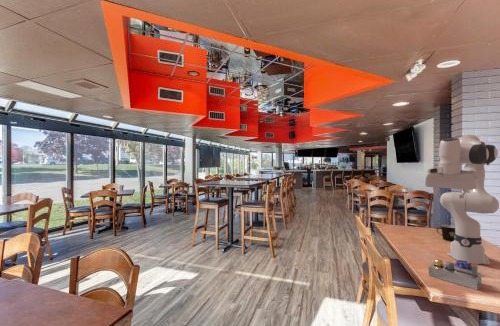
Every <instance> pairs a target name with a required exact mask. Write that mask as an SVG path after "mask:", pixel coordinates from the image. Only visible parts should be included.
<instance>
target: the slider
mask: <svg viewBox="0 0 500 326" xmlns="http://www.w3.org/2000/svg"><path fill="white" fill-rule="evenodd" d="M471 265H472V276H477V275H478V273H479V271H478V265H479V264H476V263H473V264H472V263H471Z"/></svg>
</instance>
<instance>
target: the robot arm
mask: <svg viewBox="0 0 500 326" xmlns="http://www.w3.org/2000/svg"><path fill="white" fill-rule="evenodd" d="M498 151H499V150H498V149H497V148H496V146H495V145H493V144H486V143H485V142H484V141H482V140H481V139H480V138H479V137H478V136H477V135H474V134H466V135H465V134H464V135H462V136H460V137H458V138H457V137H455V138H454V137H451V138H444V139H441V140H440V142H439V147H438V159H439V161H438V166H435V167H433V168H429V169H427V174H426V176H425V181H424V185H425V187H427V188H433V189H432V190H433V191H434V193H435V196H436V197H440V198H439V203H440V205H441V206H442V207H443V208H444V209H445V210H447V211H448V212H449V213H450V215H451V217H452V218H453V221H454V226H455V234H454V241H450V252H447V254H446V255H447V256H448V257H451V258H453V259H454V260H455V261H457V260H464V261H467V262H469V263H471V265H472V264H473V263H476V264H478V265H487V266H490V265H491V262H490V259H489V257H488V255H487V254H486V253H485V248H484V246H483V245H482V243H483V242H482V241H483V240H482V237H481V223H480V221H477V220H476V219H474V218H472V217H471V216H469V215H468V213H473V214H474V213H476V214H495V213H496V212H497V211H498V209H499V208H500V204H499V200H498V199H497V198H496V197H495V196H494V195H492V194H490V193H488V192H487V191H486V189H485V181H486V180H485V179H486V169H485V165H486V166H489V165H490V164H491V163H493V162H495V160H497V158H498V156H499V152H498ZM462 165H464V167H463V168H462ZM438 189H451V190H452V189H453V190H454V189H455V190H462V192H460V191H459V192H457V191H449V192H448V191H447V192H444V193H442V194H441V192H438Z"/></svg>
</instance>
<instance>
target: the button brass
mask: <svg viewBox="0 0 500 326" xmlns="http://www.w3.org/2000/svg"><path fill="white" fill-rule="evenodd" d="M434 262H435V266H436V267H440V268H443V264H444V260H442V259H439V258H436V259H435V260H434Z"/></svg>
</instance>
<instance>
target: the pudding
mask: <svg viewBox="0 0 500 326" xmlns="http://www.w3.org/2000/svg"><path fill="white" fill-rule="evenodd" d="M454 267H458V268H462V269H466V270H470V271H472V263H469V262H467V261H464V260H455V263H454Z"/></svg>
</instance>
